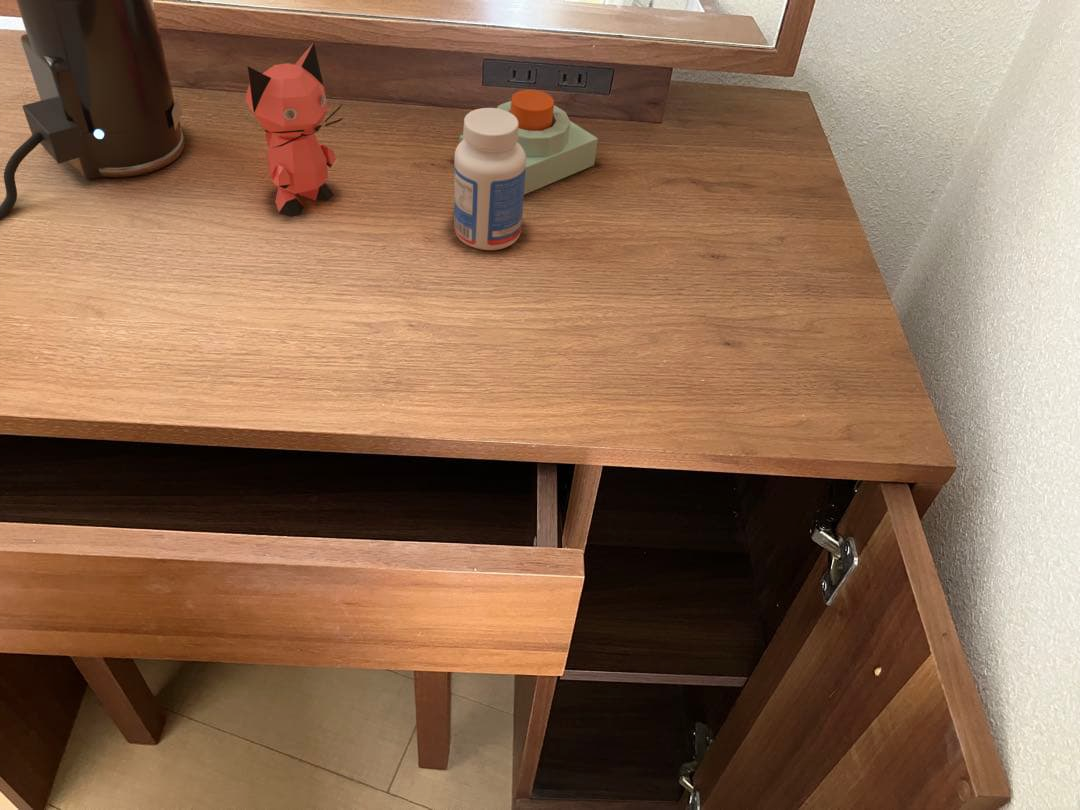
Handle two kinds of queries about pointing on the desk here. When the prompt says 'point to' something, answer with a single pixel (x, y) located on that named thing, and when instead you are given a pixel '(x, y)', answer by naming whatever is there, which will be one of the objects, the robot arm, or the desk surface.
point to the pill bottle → (489, 180)
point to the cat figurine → (293, 129)
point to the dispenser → (554, 150)
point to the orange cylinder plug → (532, 109)
